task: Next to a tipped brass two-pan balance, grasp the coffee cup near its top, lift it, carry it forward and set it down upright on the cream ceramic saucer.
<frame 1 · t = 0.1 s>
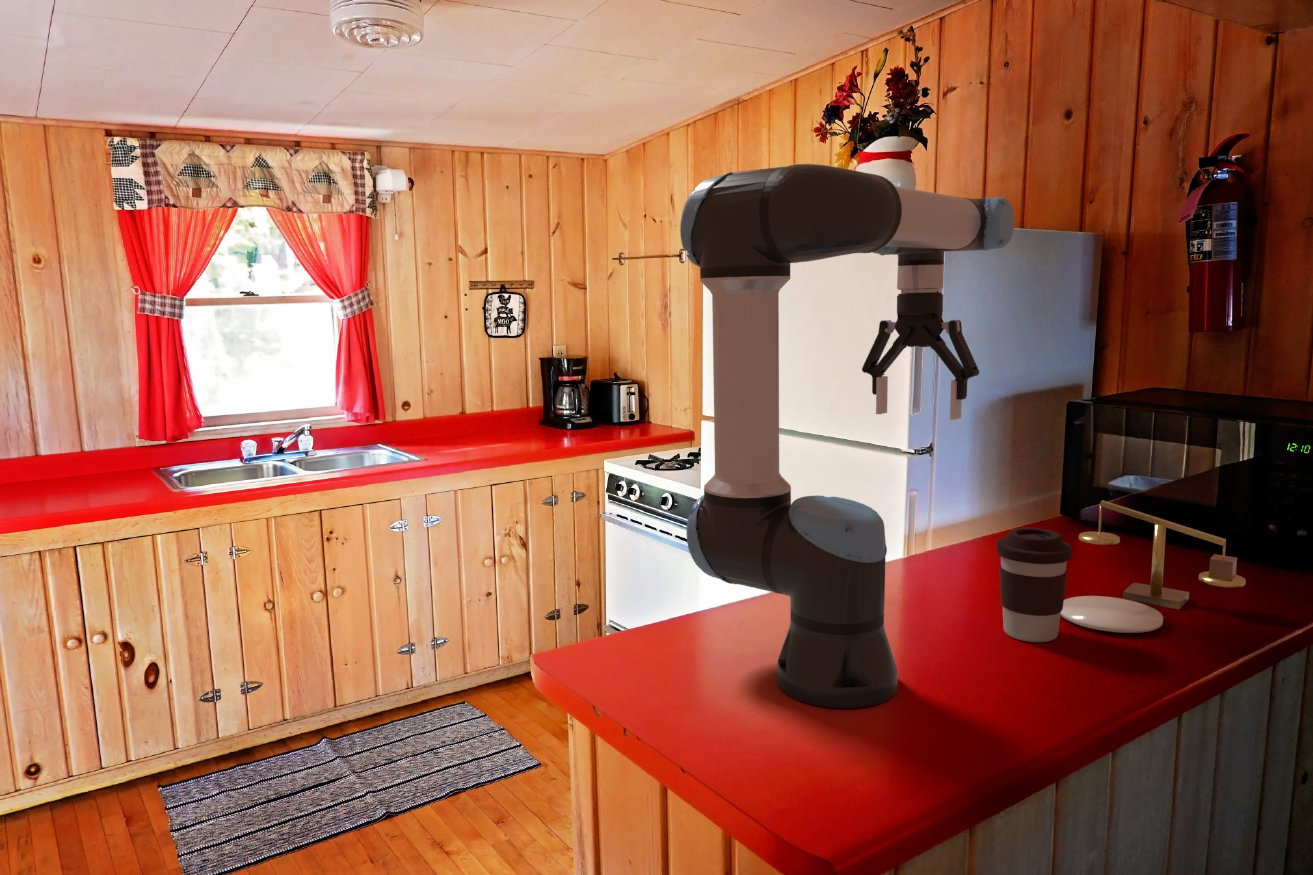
hand: (917, 416, 157), 28 cm above the worktop, fingers open, 13 cm apart
balance: (1155, 599, 144), on the worktop
coffee cup: (1030, 635, 131), on the worktop
saucer: (1109, 619, 136), on the worktop
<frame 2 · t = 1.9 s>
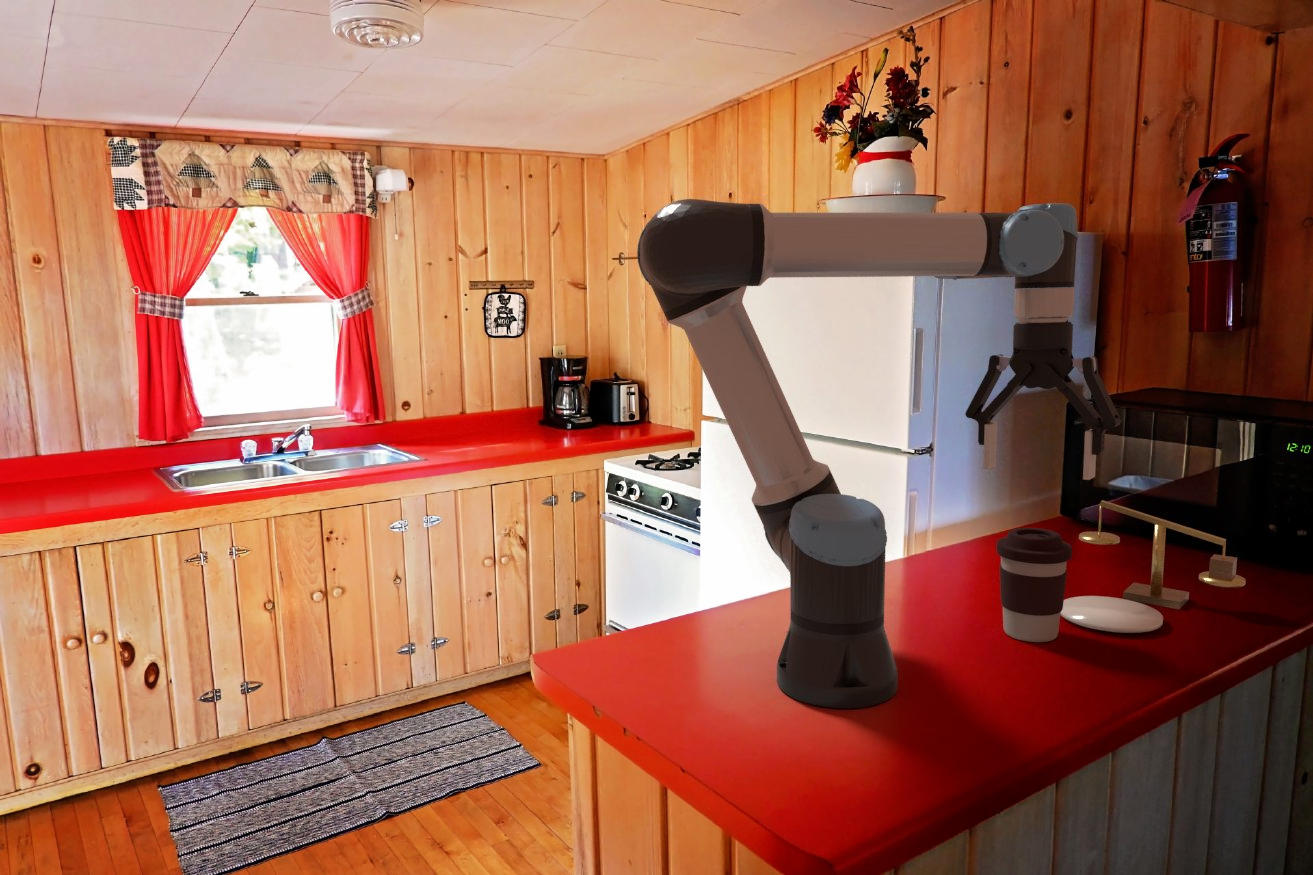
hand: (1037, 473, 127), 24 cm above the worktop, fingers open, 13 cm apart
nothing on the worktop moved.
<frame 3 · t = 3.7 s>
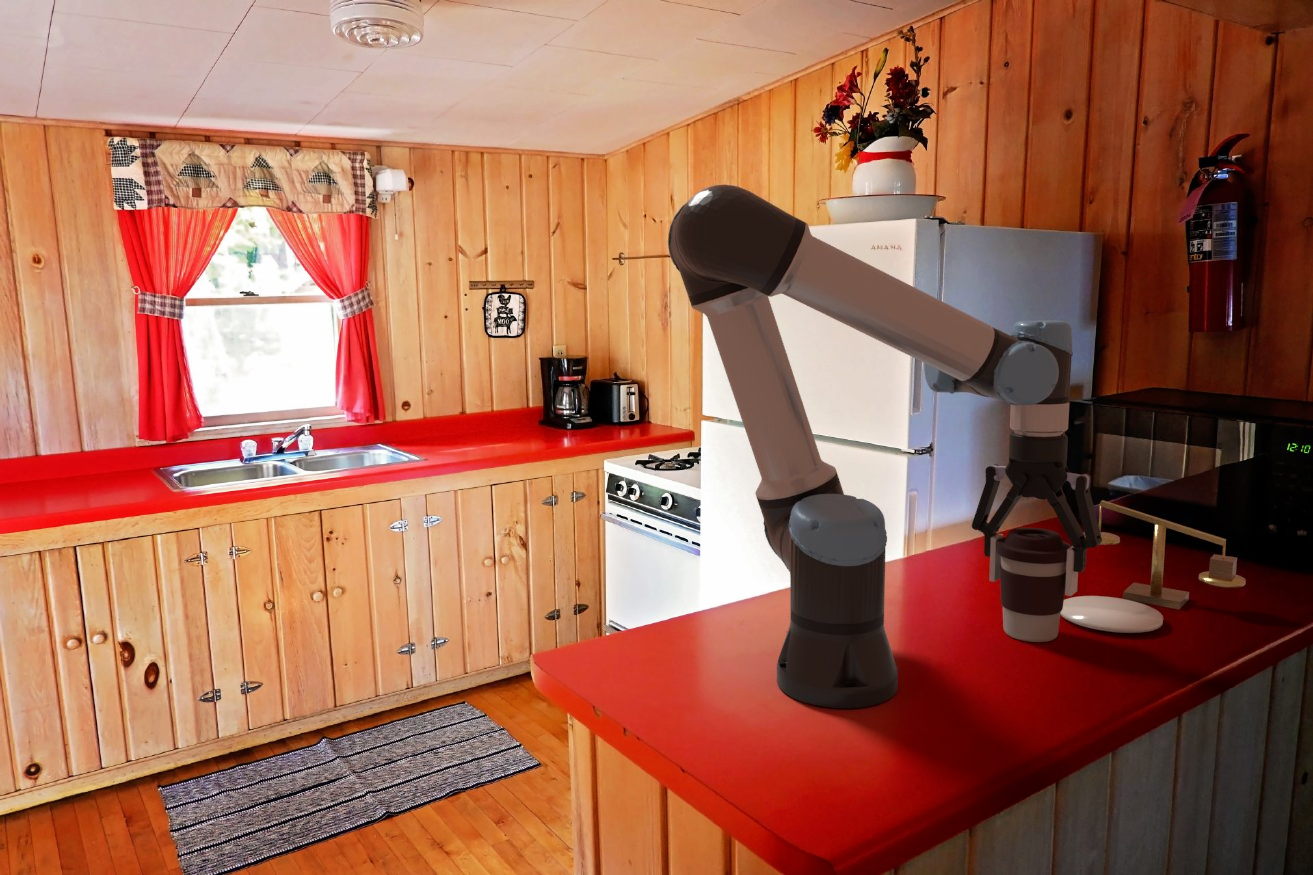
hand: (1032, 585, 130), 7 cm above the worktop, fingers closed on coffee cup, 10 cm apart
coffee cup: (1030, 635, 131), on the worktop, touching gripper
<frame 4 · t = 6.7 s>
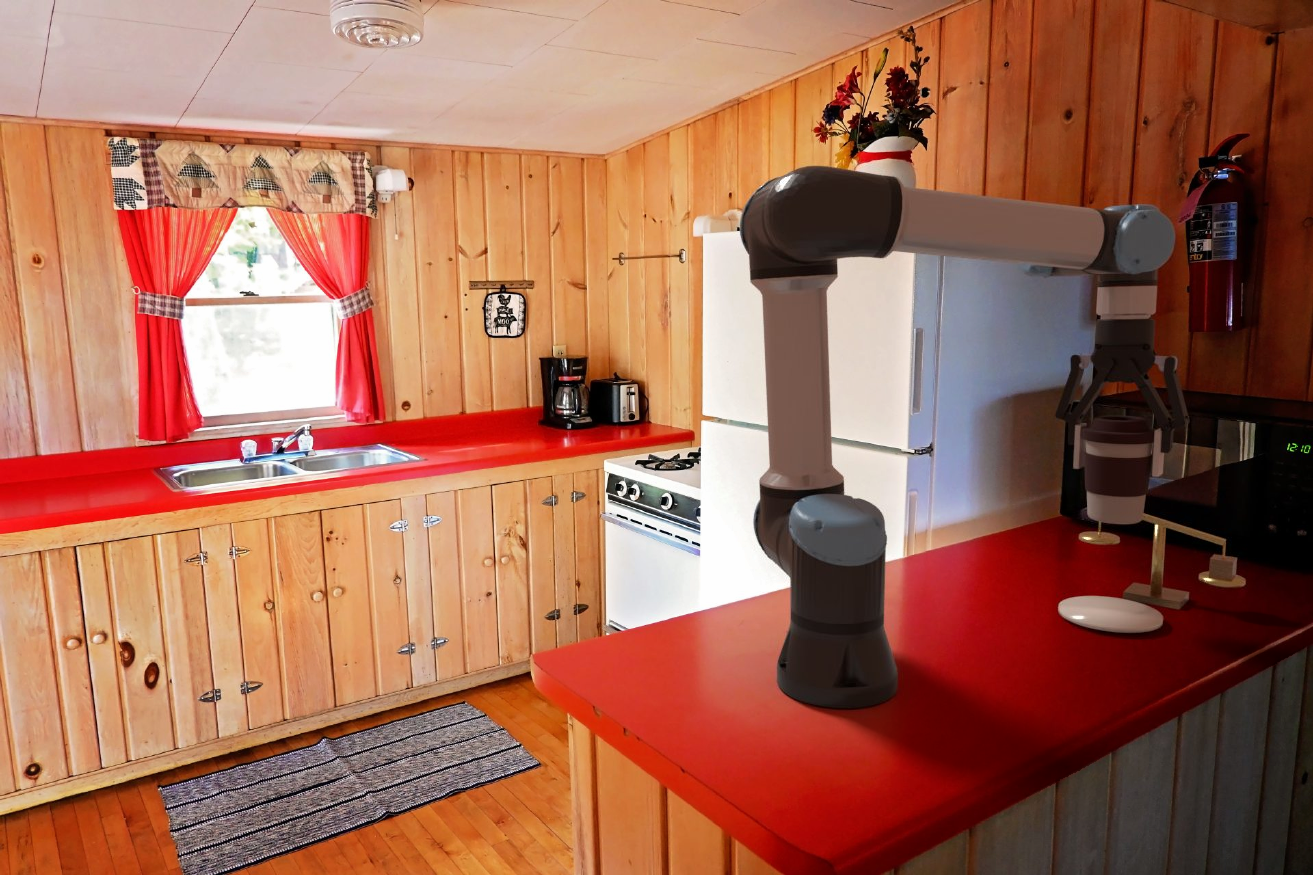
hand: (1117, 471, 132), 23 cm above the worktop, fingers closed on coffee cup, 10 cm apart
coffee cup: (1114, 520, 134), point 15 cm above the worktop, touching gripper
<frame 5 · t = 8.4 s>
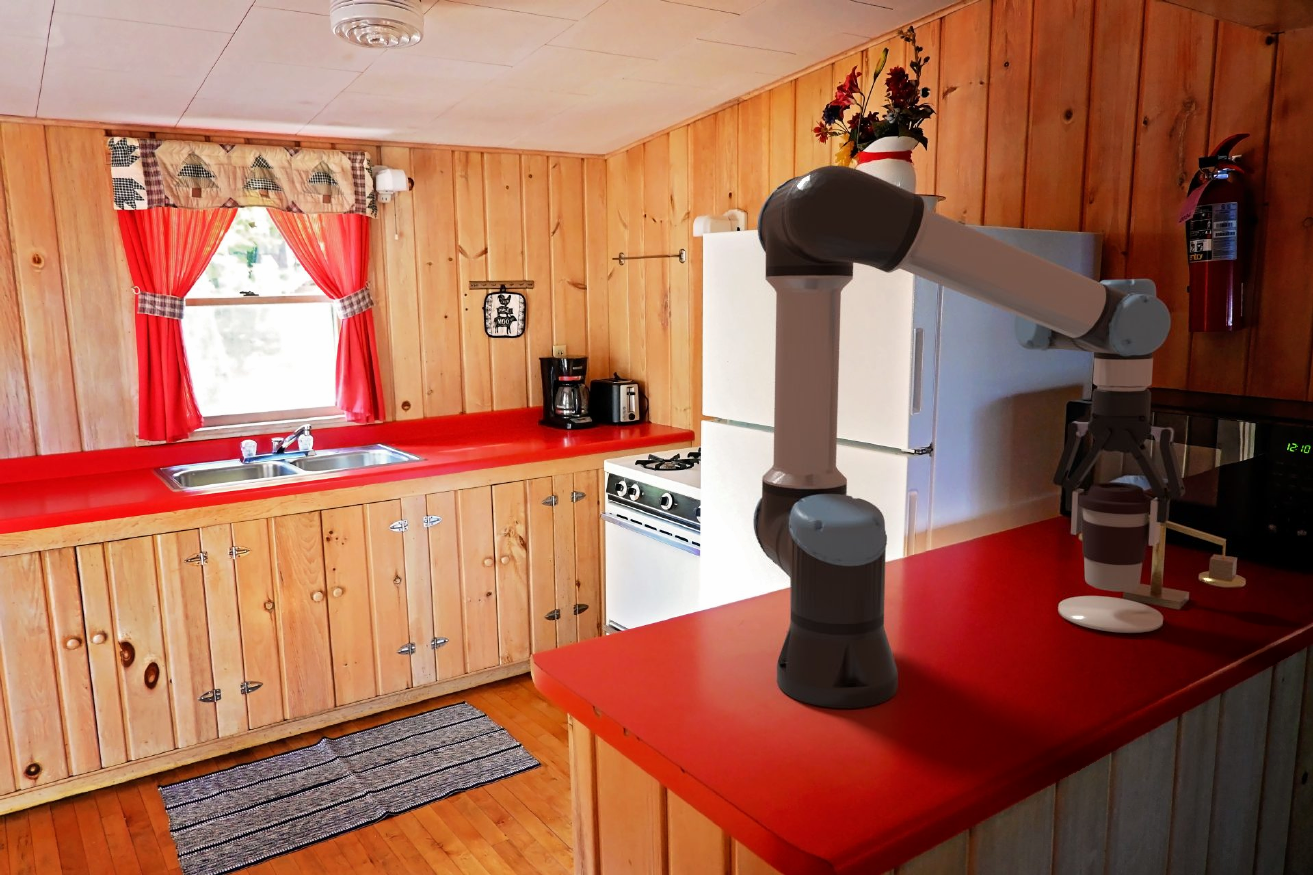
hand: (1114, 537, 134), 13 cm above the worktop, fingers closed on coffee cup, 10 cm apart
coffee cup: (1111, 586, 135), point 5 cm above the worktop, touching gripper
when the fingers open (10 cm above the worktop, at t = 9.5 s): coffee cup drops 1 cm, resting on saucer.
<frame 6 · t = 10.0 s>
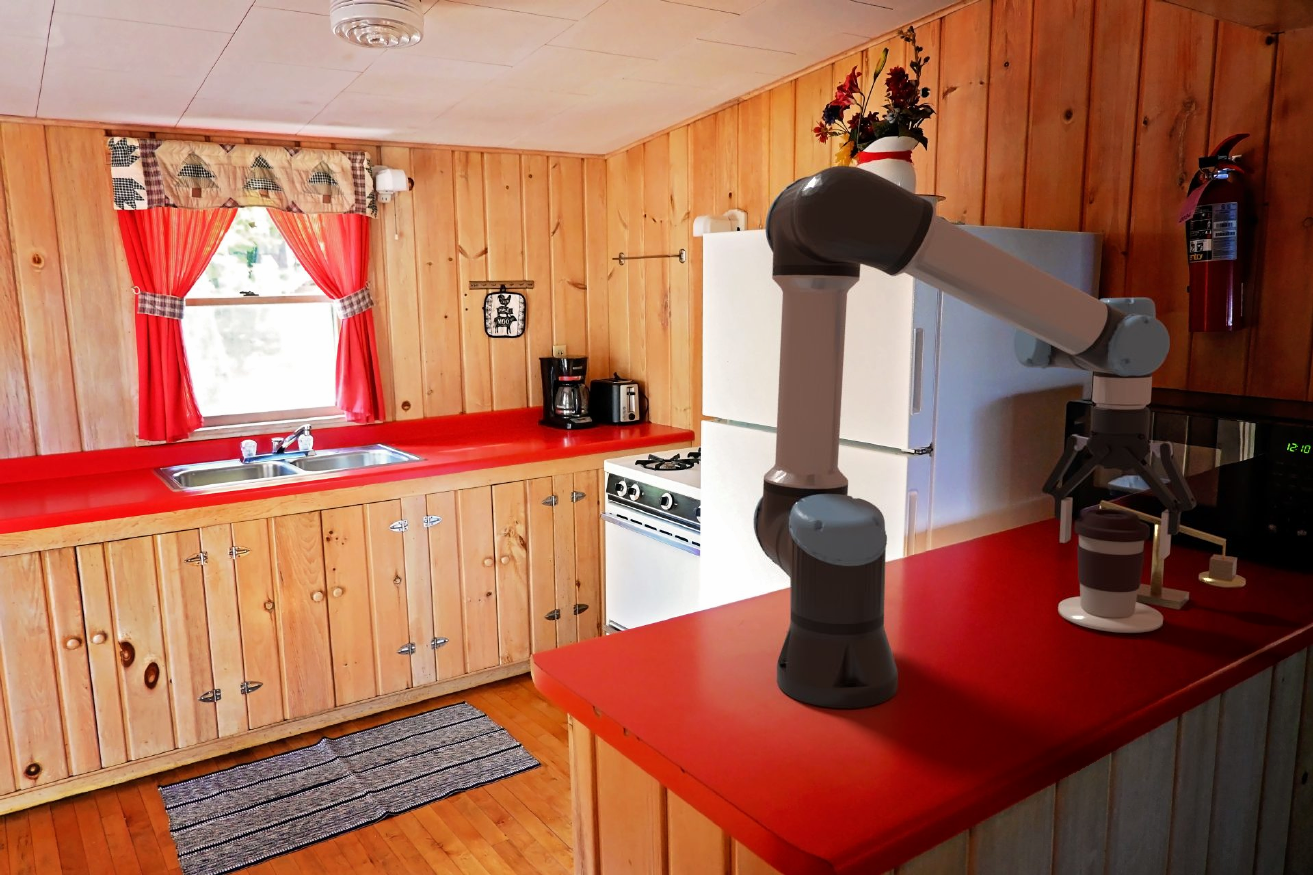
hand: (1113, 548, 134), 11 cm above the worktop, fingers open, 13 cm apart
coffee cup: (1107, 612, 136), point 1 cm above the worktop, touching saucer
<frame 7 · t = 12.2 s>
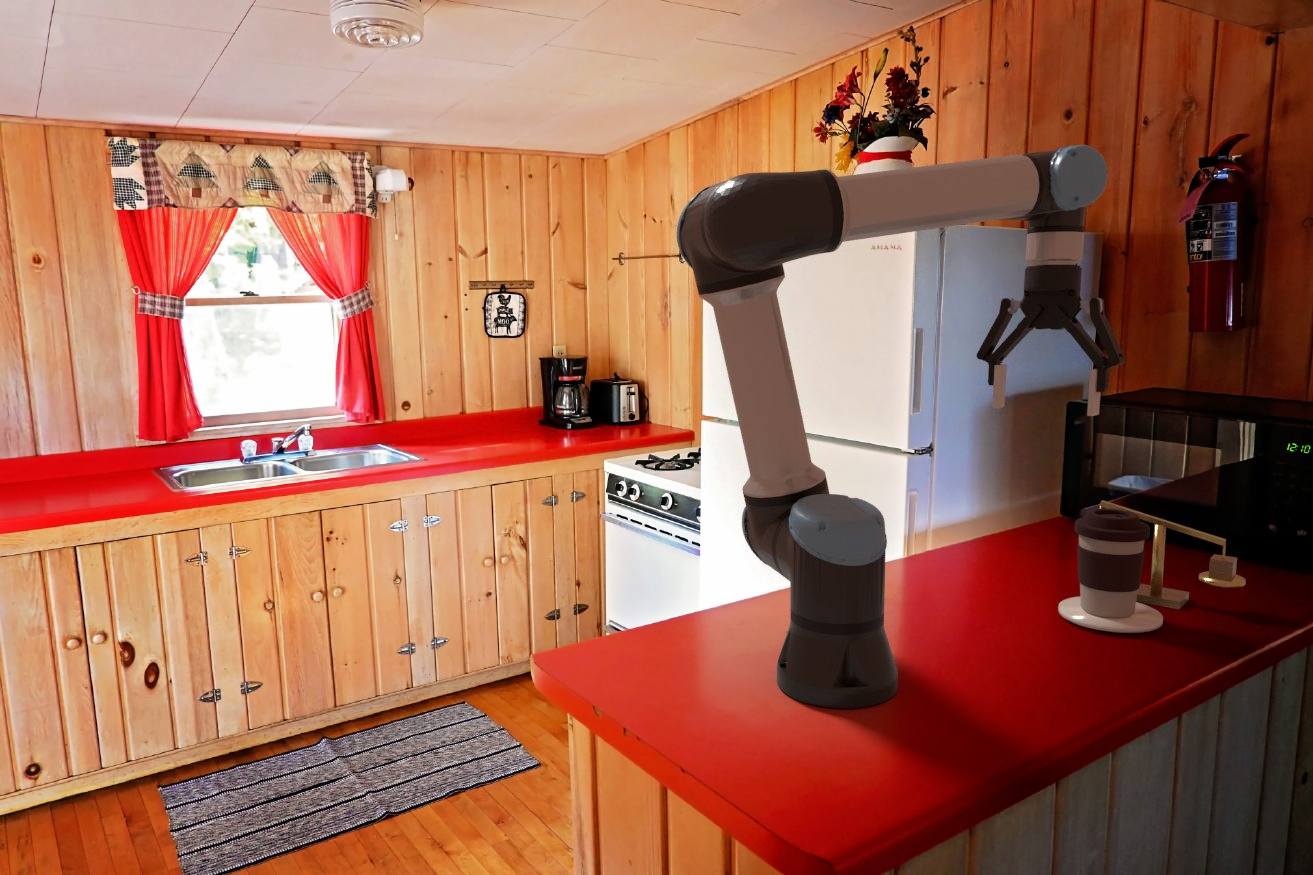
hand: (1044, 411, 133), 31 cm above the worktop, fingers open, 13 cm apart
nothing on the worktop moved.
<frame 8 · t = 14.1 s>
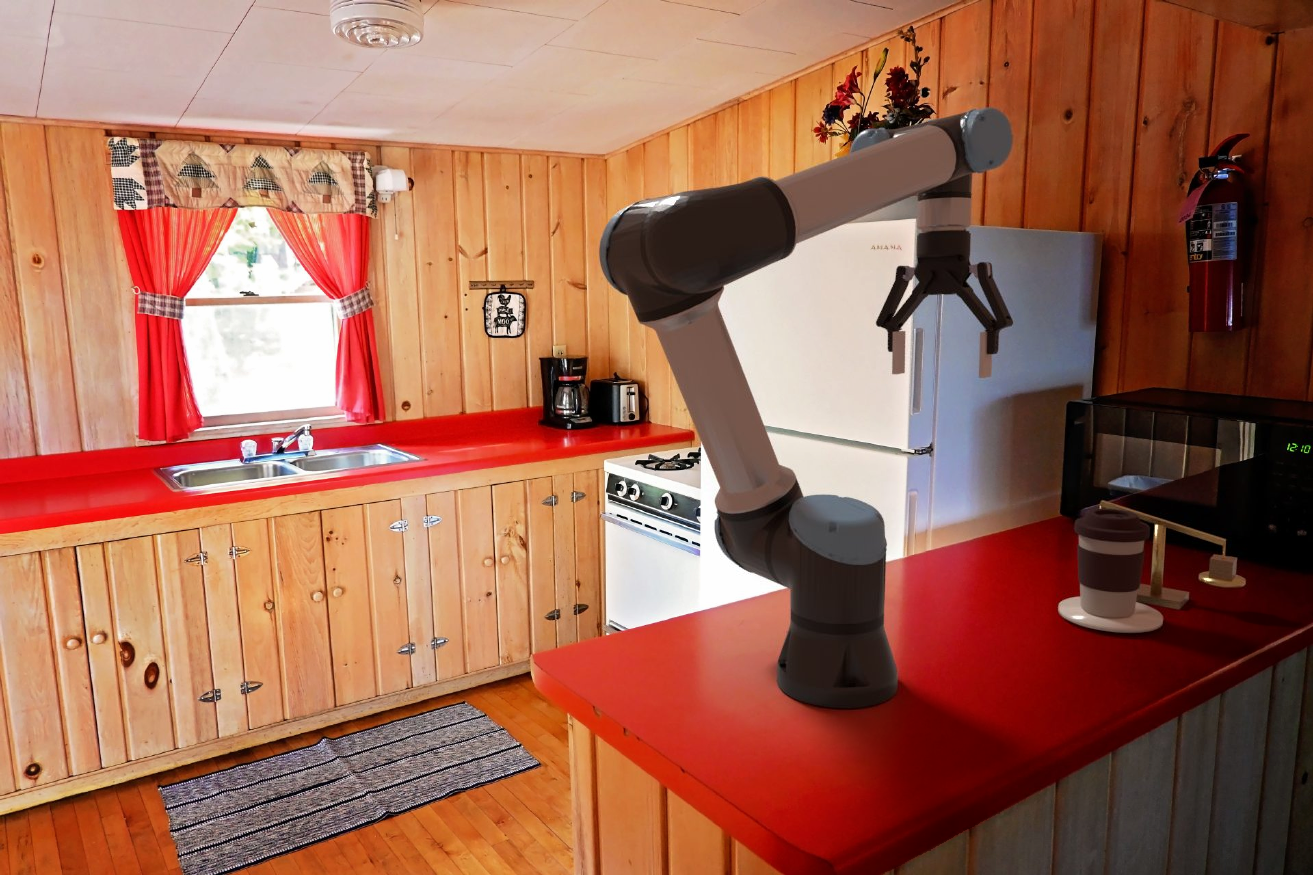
hand: (940, 375, 136), 37 cm above the worktop, fingers open, 13 cm apart
nothing on the worktop moved.
at the end: coffee cup 0.3 cm from the saucer (horizontally); coffee cup tilted 0°; coffee cup point 1.1 cm above the worktop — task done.
